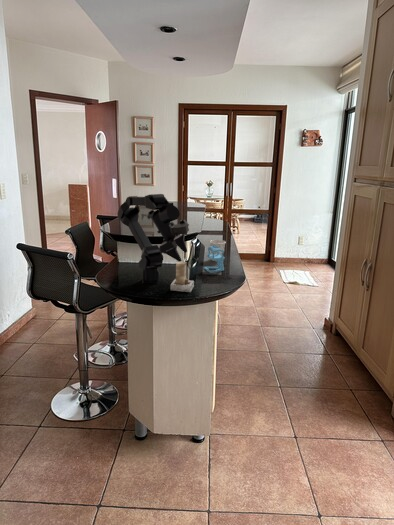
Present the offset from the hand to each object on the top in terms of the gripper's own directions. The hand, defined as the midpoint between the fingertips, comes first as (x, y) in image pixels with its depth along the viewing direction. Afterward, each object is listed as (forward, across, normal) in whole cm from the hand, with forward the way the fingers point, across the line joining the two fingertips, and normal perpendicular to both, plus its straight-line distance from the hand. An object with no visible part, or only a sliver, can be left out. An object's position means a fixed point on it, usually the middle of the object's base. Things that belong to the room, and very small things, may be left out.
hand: (183, 256), depth 151 cm
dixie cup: (+20, +41, +4) cm, 46 cm away
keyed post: (+10, -4, +7) cm, 13 cm away
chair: (+19, +23, +1) cm, 30 cm away
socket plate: (+10, -4, +7) cm, 13 cm away
